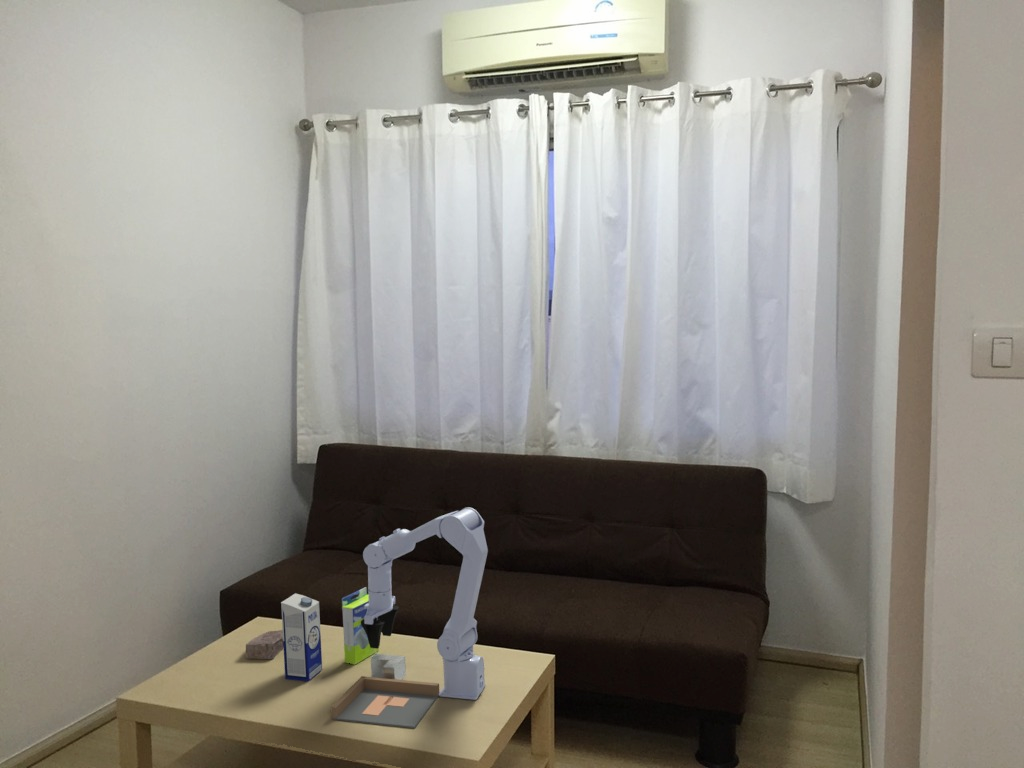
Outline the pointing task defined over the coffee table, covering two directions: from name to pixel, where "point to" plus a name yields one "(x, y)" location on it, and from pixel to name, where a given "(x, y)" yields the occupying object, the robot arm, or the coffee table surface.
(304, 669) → the milk carton
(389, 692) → the arena
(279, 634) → the stone
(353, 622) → the box
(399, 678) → the l block
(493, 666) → the coffee table surface
